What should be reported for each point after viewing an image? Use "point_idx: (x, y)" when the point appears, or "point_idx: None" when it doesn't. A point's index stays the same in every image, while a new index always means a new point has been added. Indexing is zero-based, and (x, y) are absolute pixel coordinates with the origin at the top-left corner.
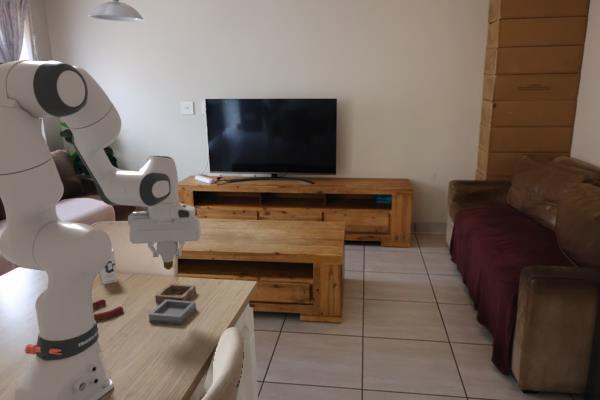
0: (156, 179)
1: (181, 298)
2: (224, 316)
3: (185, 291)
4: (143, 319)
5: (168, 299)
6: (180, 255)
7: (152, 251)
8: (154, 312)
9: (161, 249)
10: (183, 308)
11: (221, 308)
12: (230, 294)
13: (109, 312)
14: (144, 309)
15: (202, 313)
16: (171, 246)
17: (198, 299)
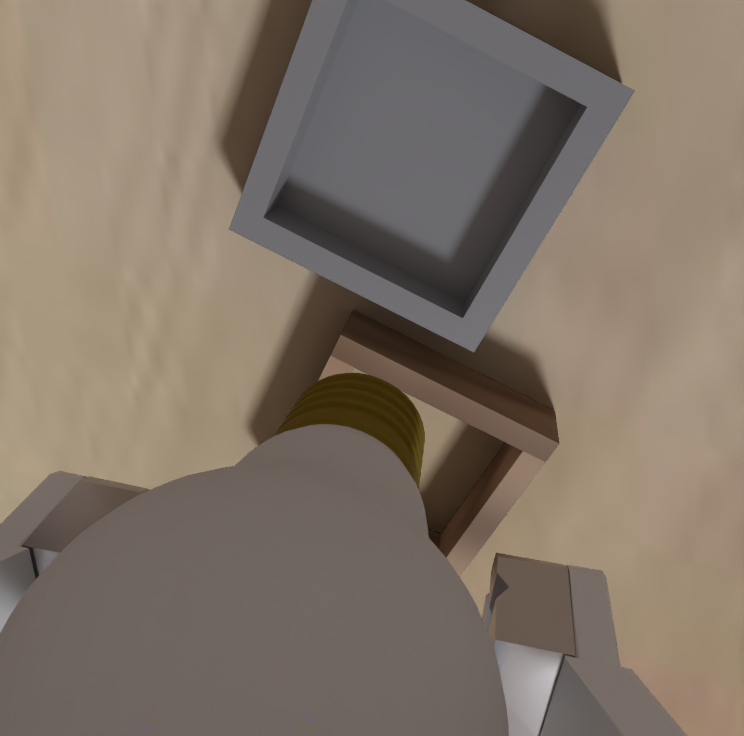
0: None
1: (348, 336)
2: (18, 19)
3: None
4: (670, 151)
5: (456, 380)
6: (63, 472)
7: (622, 674)
8: (578, 119)
9: (365, 582)
10: (338, 219)
11: (64, 172)
12: (39, 376)
13: None
14: (648, 332)
15: (195, 125)
16: (51, 599)
17: (247, 370)
